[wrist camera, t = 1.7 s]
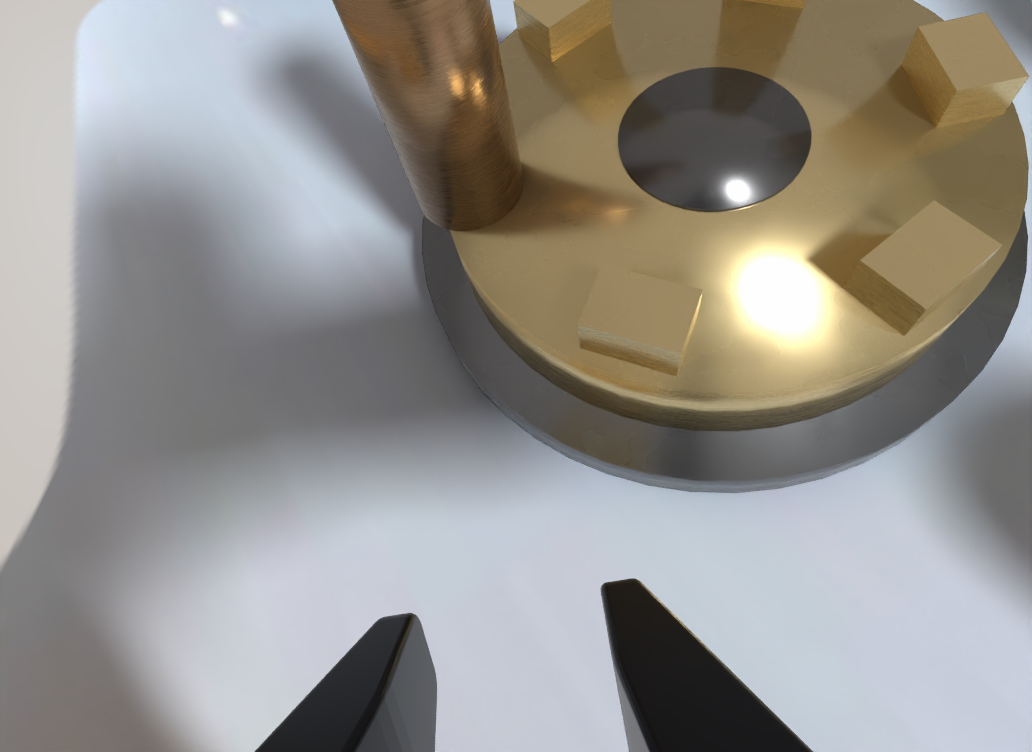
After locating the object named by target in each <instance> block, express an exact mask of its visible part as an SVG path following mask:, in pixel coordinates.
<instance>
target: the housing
mask: <svg viewBox="0 0 1032 752" xmlns="http://www.w3.org/2000/svg"><path fill="white" fill-rule="evenodd" d="M1027 244H1028V234H1027V227H1026V219H1025V212H1023V216H1022V220H1021V224H1020V228H1019V231H1018V233H1017V235H1016V237H1015V239H1014V241H1013V243H1012V246H1011V248H1010V250H1009V252H1008V254H1007V256H1006V259H1005V261H1004V262H1003V263H1002V265H1001V266H1000V268H999V269H998V271H997V272H996V273H995V275H994V276H993V278H992V279H991V280H990V282H989V283H988V285H987V286H986V288H985V289H984V290H983V291H982V292H981V294H980V295H979V296H978V297H977V298H976V299H975V300H974V301H973V302H972V303H971V304H970V305H969V306H968V307H967V309H966V310H965V311H964V312H963V313H962V314H961V315H960V316H959V317H958V318H957V319H956V320H955V321H954V322H953V324H952V325H951V326H950V327H949V328H948V329H947V330H946V331H945V332H944V333H943V334H942V335H941V336H940V337H939V339H938V340H937V341H936V342H935V343H934V344H933V345H932V346H931V347H930V348H929V349H928V350H927V351H926V352H925V353H924V354H923V355H922V356H921V357H920V358H919V359H918V360H917V361H916V362H915V363H914V364H913V365H912V366H911V367H909V368H908V369H907V370H905V371H904V372H903V373H901V374H900V375H899V376H897V377H896V378H894V379H893V380H892V381H890V382H889V383H888V384H886V385H885V386H884V387H882V388H880V389H878V390H877V391H875V392H873V393H871V394H869V395H867V396H865V397H864V398H862V399H860V400H858V401H856V402H854V403H852V404H850V405H848V406H845V407H843V408H840V409H837V410H835V411H832V412H829V413H827V414H824V415H821V416H819V417H816V418H813V419H809V420H804V421H800V422H796V423H792V424H787V425H783V426H779V427H773V428H764V429H755V430H746V431H737V432H735V431H693V430H685V429H677V428H670V427H662V426H656V425H652V424H649V423H645V422H641V421H637V420H633V419H629V418H625V417H621V416H619V415H616V414H614V413H611V412H608V411H606V410H603V409H601V408H598V407H596V406H593V405H591V404H588V403H586V402H584V401H582V400H580V399H579V398H577V397H575V396H573V395H571V394H569V393H568V392H566V391H564V390H562V389H560V388H558V387H557V386H555V385H554V384H552V383H551V382H550V381H548V380H547V379H546V378H544V377H543V376H541V375H540V374H539V373H537V372H536V371H535V370H533V369H532V368H530V367H529V366H528V365H527V364H526V363H525V362H524V361H523V360H522V359H521V358H520V357H519V356H518V355H517V354H516V353H515V352H514V351H513V350H512V349H510V348H509V347H508V346H507V344H506V343H505V342H504V341H503V339H502V338H501V337H500V335H499V334H498V333H497V332H496V330H495V329H494V328H493V326H492V325H491V324H490V323H489V321H488V319H487V318H486V316H485V314H484V312H483V310H482V309H481V307H480V305H479V303H478V302H477V300H476V298H475V296H474V293H473V291H472V288H471V285H470V283H469V280H468V277H467V275H466V272H465V269H464V267H463V264H462V262H461V259H460V256H459V254H458V251H457V248H456V246H455V243H454V240H453V238H452V235H451V232H450V230H448V229H445V228H442V227H440V226H438V225H436V224H434V223H433V222H431V221H430V220H429V219H428V218H427V217H426V216H425V215H424V218H423V225H422V256H423V262H424V268H425V274H426V280H427V286H428V289H429V292H430V295H431V298H432V301H433V304H434V307H435V310H436V313H437V316H438V318H439V320H440V322H441V324H442V326H443V328H444V330H445V332H446V334H447V336H448V337H449V339H450V341H451V343H452V345H453V347H454V349H455V351H456V353H457V355H458V357H459V359H460V361H461V363H462V364H463V365H464V367H465V368H466V370H467V371H468V372H469V374H470V375H471V377H472V378H473V379H474V381H475V382H476V383H477V385H478V386H479V388H480V389H481V390H482V391H483V392H484V393H485V394H486V395H487V396H488V397H489V399H490V400H491V401H492V402H493V403H494V404H495V405H496V406H497V407H498V408H499V409H500V410H501V411H502V412H503V413H504V414H505V415H506V416H507V417H509V418H510V419H511V420H512V421H514V422H515V423H516V424H518V425H519V426H520V427H521V428H523V429H524V430H525V431H527V432H528V433H529V434H530V435H532V436H533V437H534V438H536V439H537V440H539V441H541V442H543V443H544V444H546V445H548V446H549V447H551V448H553V449H555V450H556V451H558V452H560V453H561V454H563V455H565V456H567V457H568V458H570V459H573V460H575V461H578V462H580V463H582V464H585V465H587V466H589V467H592V468H594V469H596V470H599V471H601V472H604V473H606V474H609V475H613V476H616V477H620V478H623V479H627V480H631V481H634V482H638V483H641V484H645V485H649V486H656V487H662V488H669V489H676V490H682V491H689V492H719V493H739V492H749V491H759V490H770V489H779V488H784V487H788V486H792V485H797V484H801V483H805V482H810V481H814V480H818V479H823V478H825V477H828V476H831V475H833V474H836V473H838V472H841V471H844V470H846V469H849V468H852V467H854V466H857V465H860V464H862V463H864V462H866V461H868V460H870V459H872V458H873V457H875V456H877V455H879V454H881V453H883V452H884V451H886V450H888V449H890V448H892V447H894V446H895V445H897V444H899V443H901V442H902V441H903V440H905V439H906V438H907V437H908V436H910V435H911V434H912V433H914V432H915V431H916V430H918V429H919V428H920V427H922V426H923V425H924V424H926V423H927V422H928V421H930V420H931V419H932V418H933V417H935V416H936V415H937V414H938V413H939V412H941V411H942V410H943V409H944V408H945V407H946V406H948V405H949V404H950V403H951V402H952V401H954V399H955V398H956V397H957V396H958V395H959V394H960V393H961V392H962V391H963V390H964V389H965V388H966V387H967V386H968V385H969V384H970V383H971V382H972V381H973V380H974V379H975V378H976V377H977V376H978V374H979V373H980V372H981V371H982V370H983V368H984V367H985V365H986V364H987V362H988V361H989V359H990V358H991V356H992V355H993V354H994V352H995V351H996V349H997V348H998V346H999V345H1000V343H1001V342H1002V340H1003V338H1004V336H1005V334H1006V332H1007V329H1008V327H1009V325H1010V323H1011V320H1012V318H1013V316H1014V314H1015V311H1016V309H1017V307H1018V303H1019V299H1020V295H1021V291H1022V287H1023V283H1024V278H1025V274H1026V265H1027Z"/></svg>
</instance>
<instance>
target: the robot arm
mask: <svg viewBox="0 0 1032 752" xmlns="http://www.w3.org/2000/svg"><path fill="white" fill-rule="evenodd" d="M601 596H602V602H603V608H604V614H605V620H606V625H607V631H608V637H609V643H610V649H611V655H612V660H613V666H614V671H615V677H616V682H617V688H618V693H619V698H620V704H621V709H622V715H623V720H624V726H625V731H626V737H627V742H628V748H629V752H813V751H812V750H811V749H810V748H809V747H808V746H807V745H806V744H805V743H804V742H803V741H802V740H801V739H800V738H799V737H798V736H797V735H796V734H795V733H794V732H793V731H792V730H791V729H790V728H789V727H788V726H787V725H786V724H785V723H783V722H782V721H781V720H780V719H779V718H778V717H777V716H776V715H775V714H774V713H773V712H772V711H771V710H770V709H769V708H768V707H767V706H766V705H765V704H764V703H763V702H762V701H761V700H760V699H759V698H758V697H757V696H756V695H755V694H754V693H753V692H752V691H751V690H750V689H749V688H748V687H747V686H746V685H745V684H744V683H743V682H742V681H741V680H740V679H739V678H738V677H737V676H736V675H735V674H734V673H733V672H732V671H731V670H730V669H729V668H728V667H727V666H726V665H725V664H724V663H722V662H721V661H720V660H719V659H718V658H717V657H716V656H715V655H714V654H713V653H712V652H711V651H710V650H709V649H708V648H707V647H706V646H705V645H704V644H703V643H702V642H701V641H700V640H699V639H698V638H697V637H696V636H695V635H694V634H693V633H692V632H691V631H690V630H689V629H688V628H687V627H686V626H685V625H684V624H683V623H682V622H681V621H680V620H679V619H678V618H677V617H676V616H675V615H674V614H673V613H672V612H671V611H670V610H669V609H668V608H667V607H666V606H665V605H664V604H663V603H662V602H660V601H659V600H658V599H657V598H656V597H655V596H654V595H653V594H652V593H651V592H650V591H649V590H648V589H647V588H646V587H645V586H644V585H643V584H642V583H641V582H640V581H639V580H637V579H626V580H620V581H613V582H607V583H604V584H603V585H602V586H601ZM436 706H437V681H436V674H435V669H434V665H433V662H432V658H431V655H430V652H429V648H428V645H427V642H426V638H425V635H424V632H423V628H422V625H421V622H420V620H419V618H418V617H417V616H416V615H415V614H413V613H407V614H400V615H394V616H387V617H383V618H381V619H379V620H378V621H377V622H375V623H374V625H373V626H372V627H371V628H370V629H369V630H368V631H367V632H366V633H365V634H364V635H363V636H362V637H361V638H360V640H359V641H358V642H357V643H356V644H355V645H354V646H353V647H352V648H351V649H350V650H349V651H348V652H347V653H346V654H345V656H344V657H343V658H342V659H341V660H340V661H339V662H338V663H337V664H336V665H335V666H334V667H333V668H332V669H331V671H330V672H329V673H328V674H327V675H326V676H325V677H324V678H323V679H322V680H321V681H320V682H319V683H318V684H317V685H316V687H315V688H314V689H313V690H312V691H311V692H310V693H309V694H308V695H307V696H306V697H305V698H304V699H303V700H302V701H301V703H300V704H299V705H298V706H297V707H296V708H295V709H294V710H293V711H292V712H291V713H290V714H289V715H288V716H287V718H286V719H285V720H284V721H283V722H282V723H281V724H280V725H279V726H278V727H277V728H276V729H275V730H274V731H273V732H272V734H271V735H270V736H269V737H268V738H267V739H266V740H265V741H264V742H263V743H262V744H261V745H260V746H259V747H258V749H257V750H256V751H255V752H435V731H436Z"/></svg>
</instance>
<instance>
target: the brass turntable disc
mask: <svg viewBox="0 0 1032 752" xmlns="http://www.w3.org/2000/svg"><path fill="white" fill-rule="evenodd" d="M332 1H333V3H334V5H335V8H336V10H337V12H338V15H339V17H340V20H341V22H342V24H343V27H344V29H345V31H346V34H347V36H348V38H349V41H350V43H351V46H352V48H353V50H354V53H355V55H356V57H357V60H358V62H359V64H360V67H361V69H362V72H363V74H364V76H365V79H366V81H367V83H368V86H369V88H370V90H371V93H372V95H373V98H374V100H375V102H376V105H377V107H378V109H379V112H380V114H381V116H382V119H383V121H384V123H385V126H386V128H387V131H388V133H389V135H390V138H391V140H392V142H393V145H394V147H395V149H396V152H397V154H398V157H399V159H400V161H401V164H402V166H403V168H404V171H405V173H406V175H407V178H408V180H409V183H410V185H411V187H412V190H413V192H414V194H415V197H416V199H417V201H418V204H419V206H420V208H421V210H422V212H423V214H424V215H425V216H426V217H427V218H428V219H429V220H430V221H431V222H433V223H434V224H436V225H438V226H440V227H442V228H445V229H448V230H450V232H451V235H452V238H453V240H454V243H455V246H456V248H457V251H458V254H459V256H460V259H461V262H462V264H463V267H464V269H465V272H466V275H467V277H468V280H469V283H470V285H471V288H472V291H473V293H474V296H475V298H476V300H477V302H478V303H479V305H480V307H481V309H482V310H483V312H484V314H485V316H486V318H487V319H488V321H489V323H490V324H491V325H492V326H493V328H494V329H495V330H496V332H497V333H498V334H499V335H500V337H501V338H502V339H503V341H504V342H505V343H506V344H507V346H508V347H509V348H510V349H512V350H513V351H514V352H515V353H516V354H517V355H518V356H519V357H520V358H521V359H522V360H523V361H524V362H525V363H526V364H527V365H528V366H529V367H530V368H532V369H533V370H535V371H536V372H537V373H539V374H540V375H541V376H543V377H544V378H546V379H547V380H548V381H550V382H551V383H552V384H554V385H555V386H557V387H558V388H560V389H562V390H564V391H566V392H568V393H569V394H571V395H573V396H575V397H577V398H579V399H580V400H582V401H584V402H586V403H588V404H591V405H593V406H596V407H598V408H601V409H603V410H606V411H608V412H611V413H614V414H616V415H619V416H621V417H625V418H629V419H633V420H637V421H641V422H645V423H649V424H652V425H656V426H662V427H670V428H677V429H685V430H693V431H735V432H737V431H746V430H755V429H764V428H773V427H779V426H783V425H787V424H792V423H796V422H800V421H804V420H809V419H813V418H816V417H819V416H821V415H824V414H827V413H829V412H832V411H835V410H837V409H840V408H843V407H845V406H848V405H850V404H852V403H854V402H856V401H858V400H860V399H862V398H864V397H865V396H867V395H869V394H871V393H873V392H875V391H877V390H878V389H880V388H882V387H884V386H885V385H886V384H888V383H889V382H890V381H892V380H893V379H894V378H896V377H897V376H899V375H900V374H901V373H903V372H904V371H905V370H907V369H908V368H909V367H911V366H912V365H913V364H914V363H915V362H916V361H917V360H918V359H919V358H920V357H921V356H922V355H923V354H924V353H925V352H926V351H927V350H928V349H929V348H930V347H931V346H932V345H933V344H934V343H935V342H936V341H937V340H938V339H939V337H940V336H941V335H942V334H943V333H944V332H945V331H946V330H947V329H948V328H949V327H950V326H951V325H952V324H953V322H954V321H955V320H956V319H957V318H958V317H959V316H960V315H961V314H962V313H963V312H964V311H965V310H966V309H967V307H968V306H969V305H970V304H971V303H972V302H973V301H974V300H975V299H976V298H977V297H978V296H979V295H980V294H981V292H982V291H983V290H984V289H985V288H986V286H987V285H988V283H989V282H990V280H991V279H992V278H993V276H994V275H995V273H996V272H997V271H998V269H999V268H1000V266H1001V265H1002V263H1003V262H1004V261H1005V259H1006V256H1007V254H1008V252H1009V250H1010V248H1011V246H1012V243H1013V241H1014V239H1015V237H1016V235H1017V233H1018V231H1019V228H1020V224H1021V220H1022V216H1023V212H1024V208H1025V204H1026V200H1027V189H1028V169H1029V165H1028V158H1027V151H1026V144H1025V137H1024V133H1023V130H1022V127H1021V124H1020V121H1019V118H1018V115H1017V112H1016V109H1015V106H1014V104H1013V102H1012V101H1013V99H1014V98H1015V96H1016V95H1017V93H1018V92H1019V90H1020V89H1021V88H1022V86H1023V85H1024V83H1025V82H1026V80H1027V79H1028V77H1029V75H1028V73H1027V72H1026V71H1025V69H1024V68H1023V66H1022V65H1021V63H1020V62H1019V60H1018V59H1017V57H1016V56H1015V54H1014V53H1013V51H1012V50H1011V48H1010V47H1009V45H1008V44H1007V43H1006V41H1005V40H1004V38H1003V37H1002V35H1001V34H1000V32H999V31H998V29H997V28H996V26H995V25H994V23H993V22H992V20H991V19H990V17H989V16H988V14H987V13H986V12H985V13H980V14H975V15H971V16H966V17H961V18H957V19H952V20H947V21H944V20H943V19H941V18H940V17H939V16H937V15H936V14H935V13H933V12H932V11H930V10H929V9H927V8H925V7H923V6H922V5H920V4H918V3H917V2H915V1H913V0H515V1H514V2H513V3H514V9H515V16H516V22H517V29H515V30H514V31H513V32H512V33H511V34H510V35H509V36H508V37H507V38H506V39H505V40H503V41H502V42H501V43H500V44H499V45H498V41H497V36H496V31H495V26H494V20H493V15H492V10H491V5H490V0H332Z"/></svg>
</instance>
